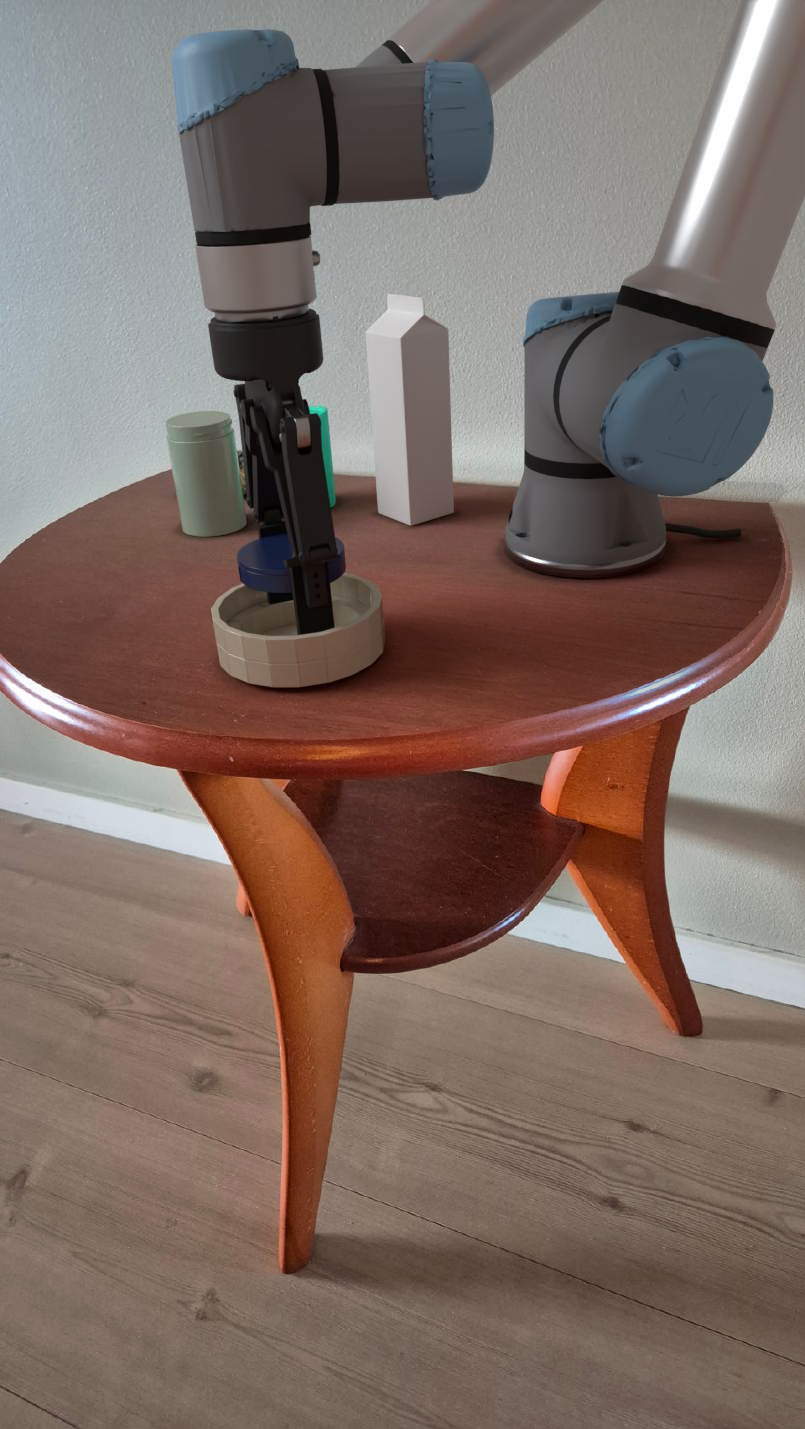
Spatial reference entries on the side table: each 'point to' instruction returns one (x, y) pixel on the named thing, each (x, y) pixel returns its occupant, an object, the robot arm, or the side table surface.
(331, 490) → the candle
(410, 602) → the side table surface
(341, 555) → the lid
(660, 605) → the side table surface
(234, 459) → the jar
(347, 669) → the dish
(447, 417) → the milk
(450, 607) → the side table surface
